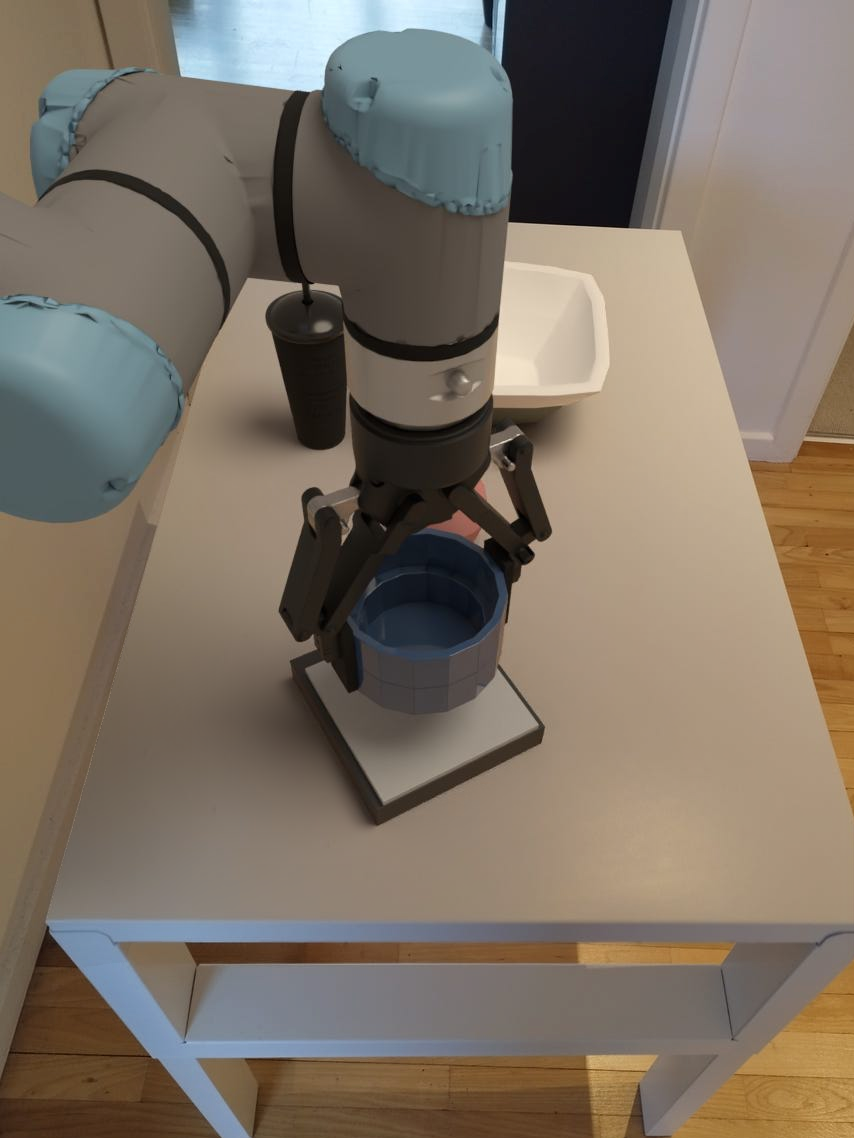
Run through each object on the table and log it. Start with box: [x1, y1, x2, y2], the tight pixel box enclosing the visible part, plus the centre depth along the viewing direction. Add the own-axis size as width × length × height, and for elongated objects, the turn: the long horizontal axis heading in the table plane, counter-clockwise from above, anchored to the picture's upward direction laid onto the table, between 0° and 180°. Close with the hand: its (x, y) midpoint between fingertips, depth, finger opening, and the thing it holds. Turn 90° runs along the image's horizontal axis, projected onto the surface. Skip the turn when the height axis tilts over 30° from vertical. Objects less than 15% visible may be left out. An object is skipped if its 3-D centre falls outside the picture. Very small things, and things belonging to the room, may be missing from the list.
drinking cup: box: [264, 284, 348, 450], centre depth 84 cm, size 8×8×20 cm
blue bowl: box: [346, 528, 508, 715], centre depth 62 cm, size 11×11×7 cm
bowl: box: [492, 260, 611, 425], centre depth 94 cm, size 22×23×8 cm
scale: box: [289, 648, 546, 826], centre depth 71 cm, size 15×14×3 cm
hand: (421, 643), depth 64 cm, fingers closed on blue bowl, 11 cm apart
